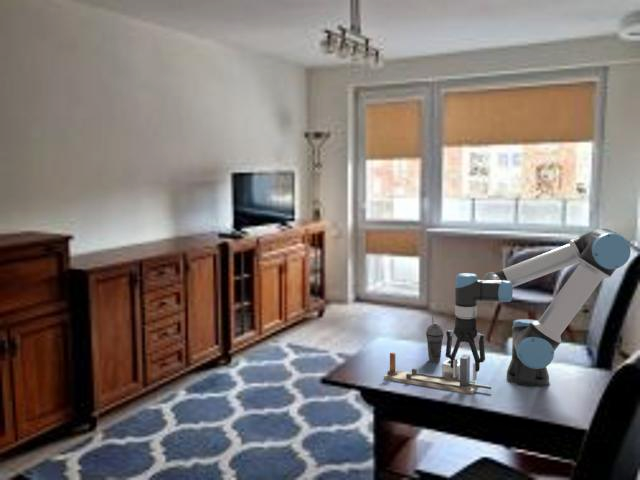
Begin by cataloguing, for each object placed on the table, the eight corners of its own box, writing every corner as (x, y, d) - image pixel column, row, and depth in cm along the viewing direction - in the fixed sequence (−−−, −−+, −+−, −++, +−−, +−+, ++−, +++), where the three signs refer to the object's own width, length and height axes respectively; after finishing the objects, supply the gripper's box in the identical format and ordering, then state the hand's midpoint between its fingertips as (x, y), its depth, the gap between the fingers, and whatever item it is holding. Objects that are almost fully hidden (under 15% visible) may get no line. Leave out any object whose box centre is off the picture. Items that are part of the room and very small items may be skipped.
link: (462, 376, 223) (463, 361, 222) (458, 381, 217) (458, 366, 217) (446, 373, 226) (446, 358, 225) (441, 378, 220) (442, 363, 220)
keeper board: (478, 386, 212) (478, 362, 211) (472, 394, 205) (473, 369, 204) (391, 372, 228) (391, 349, 227) (383, 379, 221) (383, 355, 220)
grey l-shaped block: (492, 386, 208) (492, 358, 207) (489, 391, 204) (490, 362, 203) (462, 381, 213) (463, 354, 212) (459, 386, 209) (460, 358, 208)
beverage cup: (443, 364, 237) (444, 316, 235) (425, 363, 239) (425, 316, 236) (443, 358, 244) (443, 312, 242) (425, 357, 246) (426, 311, 243)
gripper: (495, 316, 206) (494, 379, 209) (442, 311, 215) (441, 370, 218) (491, 321, 199) (489, 385, 202) (436, 315, 209) (435, 377, 211)
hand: (464, 378), depth 210 cm, fingers open, 6 cm apart
